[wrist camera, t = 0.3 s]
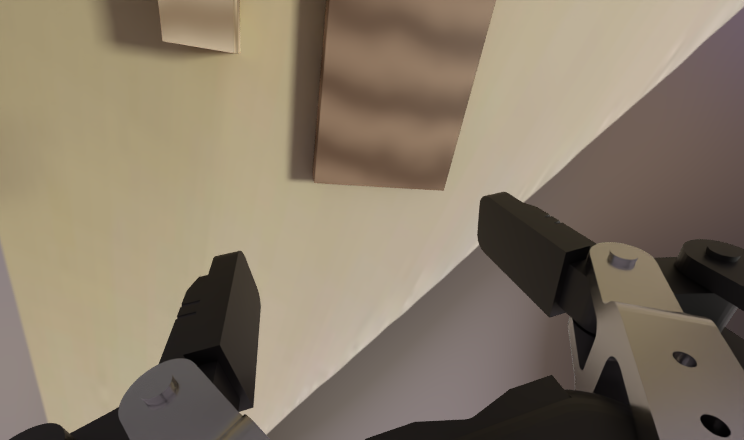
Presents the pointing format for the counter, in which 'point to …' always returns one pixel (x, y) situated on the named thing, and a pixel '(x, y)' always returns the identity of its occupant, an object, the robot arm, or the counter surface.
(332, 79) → the walnut base
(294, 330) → the counter surface
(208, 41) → the maple cube
